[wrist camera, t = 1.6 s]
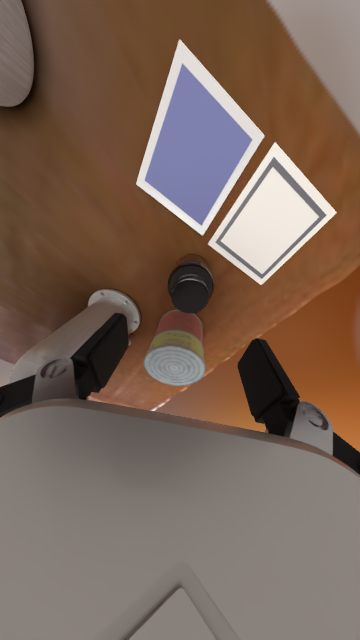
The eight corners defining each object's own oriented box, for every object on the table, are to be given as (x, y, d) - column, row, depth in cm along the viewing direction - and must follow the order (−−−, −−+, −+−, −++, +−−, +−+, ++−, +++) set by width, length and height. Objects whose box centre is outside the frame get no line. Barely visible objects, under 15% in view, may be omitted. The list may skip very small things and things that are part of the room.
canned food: (151, 332, 36) (135, 371, 27) (172, 300, 31) (160, 335, 21) (187, 350, 39) (183, 391, 29) (212, 324, 33) (218, 365, 23)
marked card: (334, 213, 20) (337, 212, 19) (260, 284, 27) (261, 285, 26) (273, 143, 17) (275, 141, 16) (207, 243, 24) (207, 244, 23)
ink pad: (261, 139, 17) (265, 134, 16) (202, 235, 23) (202, 236, 22) (180, 47, 14) (179, 36, 13) (138, 185, 20) (135, 183, 19)
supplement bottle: (207, 289, 28) (213, 322, 18) (175, 288, 29) (164, 320, 19) (211, 252, 24) (221, 269, 14) (173, 252, 25) (159, 269, 15)
